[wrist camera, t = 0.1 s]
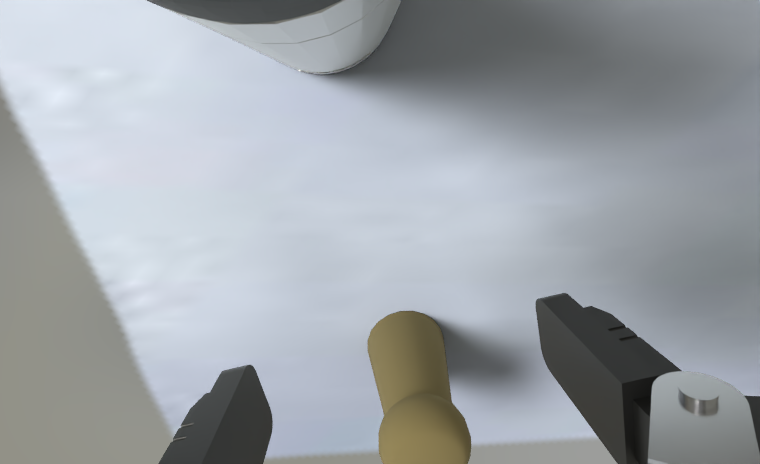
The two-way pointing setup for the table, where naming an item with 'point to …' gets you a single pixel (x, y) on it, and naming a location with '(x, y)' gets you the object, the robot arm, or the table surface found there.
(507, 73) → the table surface
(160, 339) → the table surface
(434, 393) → the cork
